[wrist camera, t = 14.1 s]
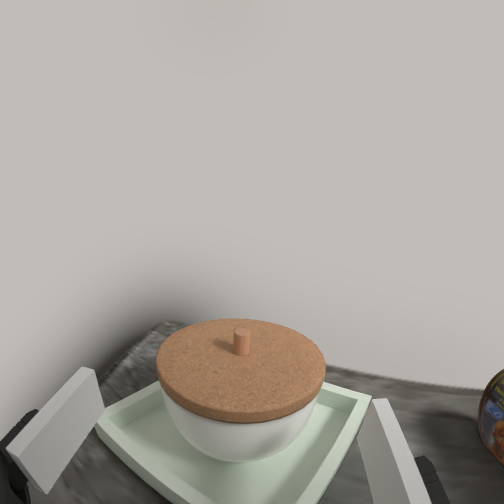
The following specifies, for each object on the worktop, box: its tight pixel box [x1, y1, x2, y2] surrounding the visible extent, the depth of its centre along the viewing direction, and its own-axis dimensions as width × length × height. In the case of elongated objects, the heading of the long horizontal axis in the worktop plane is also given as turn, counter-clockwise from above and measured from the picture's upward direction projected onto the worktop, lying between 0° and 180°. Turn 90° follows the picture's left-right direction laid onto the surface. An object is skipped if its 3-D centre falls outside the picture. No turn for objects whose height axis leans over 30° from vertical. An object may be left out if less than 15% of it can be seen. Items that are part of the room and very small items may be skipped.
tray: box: [94, 380, 372, 504], centre depth 19 cm, size 16×16×3 cm
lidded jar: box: [156, 319, 326, 463], centre depth 18 cm, size 11×11×9 cm
